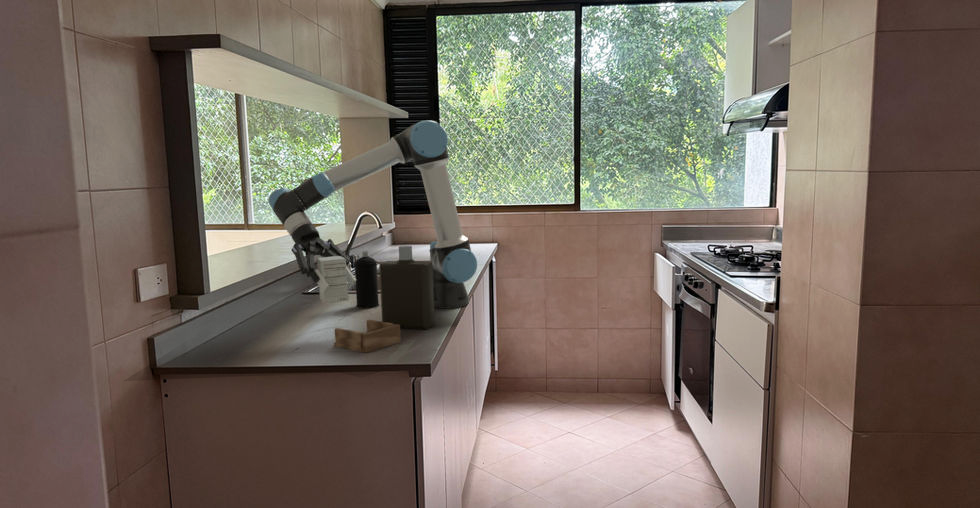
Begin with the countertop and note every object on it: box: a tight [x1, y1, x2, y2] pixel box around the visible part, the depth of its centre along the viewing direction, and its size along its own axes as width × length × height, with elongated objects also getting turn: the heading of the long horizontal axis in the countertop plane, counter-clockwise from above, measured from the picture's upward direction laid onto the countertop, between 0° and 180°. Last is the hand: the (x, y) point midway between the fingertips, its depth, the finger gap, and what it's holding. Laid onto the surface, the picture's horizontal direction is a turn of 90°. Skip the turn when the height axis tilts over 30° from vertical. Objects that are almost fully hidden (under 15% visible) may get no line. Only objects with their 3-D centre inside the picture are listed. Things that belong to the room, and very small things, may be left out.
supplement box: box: [316, 256, 350, 304], centre depth 191 cm, size 7×7×13 cm
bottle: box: [379, 245, 436, 330], centre depth 201 cm, size 8×16×25 cm, turn 74°
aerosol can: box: [353, 250, 380, 309], centre depth 233 cm, size 8×8×20 cm
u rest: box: [333, 319, 402, 354], centre depth 182 cm, size 13×13×5 cm
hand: (340, 286), depth 190 cm, fingers closed on supplement box, 10 cm apart
